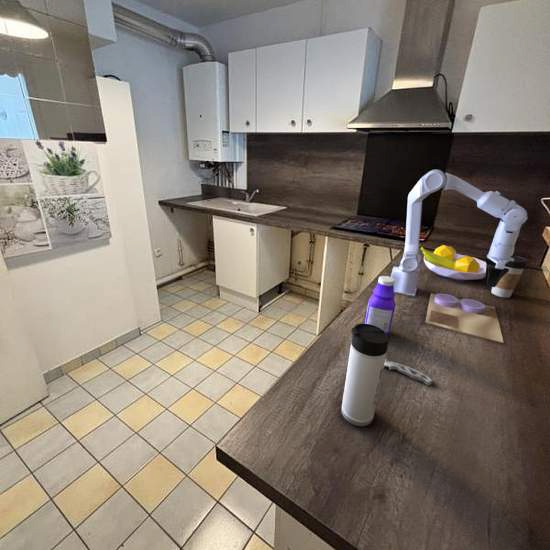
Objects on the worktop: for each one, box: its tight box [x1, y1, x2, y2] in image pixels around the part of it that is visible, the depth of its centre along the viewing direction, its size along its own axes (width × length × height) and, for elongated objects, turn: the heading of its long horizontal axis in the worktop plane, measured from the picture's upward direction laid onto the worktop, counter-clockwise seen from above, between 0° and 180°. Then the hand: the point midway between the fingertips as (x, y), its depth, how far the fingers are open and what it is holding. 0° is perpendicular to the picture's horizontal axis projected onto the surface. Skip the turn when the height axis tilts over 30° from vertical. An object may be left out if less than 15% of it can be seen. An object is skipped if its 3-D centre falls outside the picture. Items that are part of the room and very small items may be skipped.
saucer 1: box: [434, 293, 459, 307], centre depth 103 cm, size 7×7×2 cm
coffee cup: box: [490, 255, 528, 299], centre depth 108 cm, size 8×8×15 cm
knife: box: [384, 358, 434, 386], centre depth 71 cm, size 2×18×3 cm
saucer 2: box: [459, 298, 486, 314], centre depth 99 cm, size 7×7×2 cm
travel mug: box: [340, 323, 390, 427], centre depth 55 cm, size 6×7×20 cm
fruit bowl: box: [419, 244, 486, 281], centre depth 127 cm, size 28×27×11 cm
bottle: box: [364, 275, 397, 336], centre depth 82 cm, size 7×6×17 cm
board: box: [424, 292, 505, 344], centre depth 96 cm, size 20×24×1 cm
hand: (489, 282), depth 98 cm, fingers open, 7 cm apart
